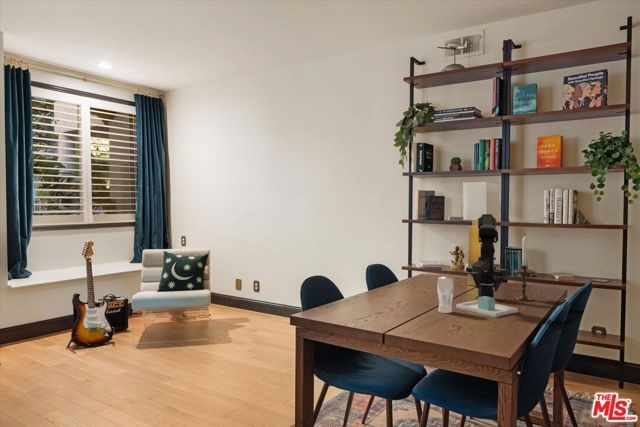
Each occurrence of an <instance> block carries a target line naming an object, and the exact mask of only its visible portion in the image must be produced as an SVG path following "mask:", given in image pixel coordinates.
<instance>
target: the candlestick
mask: <svg viewBox="0 0 640 427" xmlns="http://www.w3.org/2000/svg"><path fill="white" fill-rule="evenodd" d="M522 232H523V238H522V258H521V260H522V263H521V264H520V265H519V266H520V267H521V268H515V269H512V270H511V272H512V273H513V274H517V275H521V277H522V282H521V284H520V286H521V288H520V291H521V292H522V293H521V295H516V296H513V300H515V301H518V300H519V302H534V300H535V299H534V298H533V297H532V296H527V294H526V291H527V288H526V287H527V286H528V284H527V283H526V281H527V280H526V277H527V276H529V275H536V274H537V271H536V270H534V269H527V267H529V265H528V264H527V254H528V253H527V252H528V250H527V246H528V244H527V241H528V239H527V237H526V231H525V230H524V229H523V230H522Z"/></svg>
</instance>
